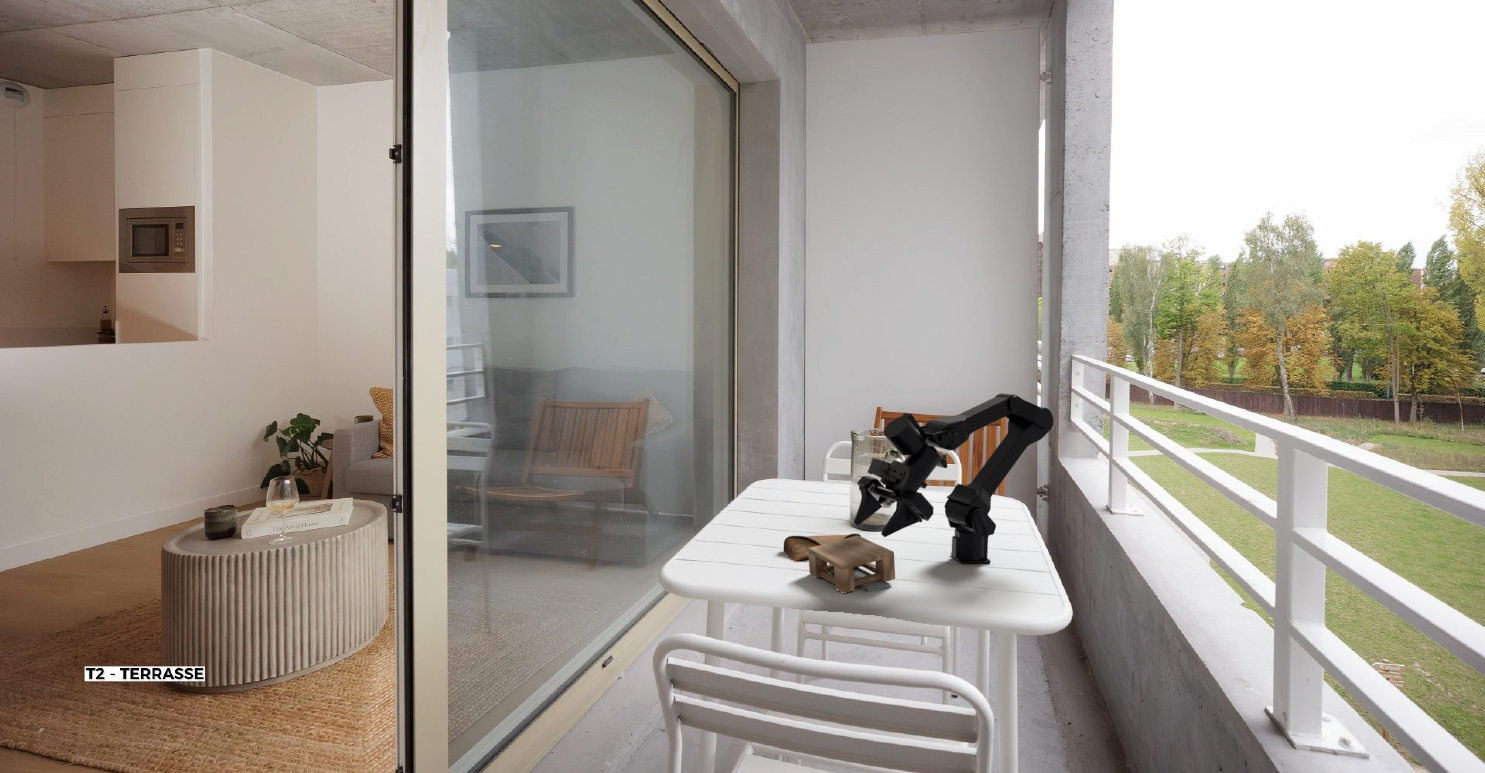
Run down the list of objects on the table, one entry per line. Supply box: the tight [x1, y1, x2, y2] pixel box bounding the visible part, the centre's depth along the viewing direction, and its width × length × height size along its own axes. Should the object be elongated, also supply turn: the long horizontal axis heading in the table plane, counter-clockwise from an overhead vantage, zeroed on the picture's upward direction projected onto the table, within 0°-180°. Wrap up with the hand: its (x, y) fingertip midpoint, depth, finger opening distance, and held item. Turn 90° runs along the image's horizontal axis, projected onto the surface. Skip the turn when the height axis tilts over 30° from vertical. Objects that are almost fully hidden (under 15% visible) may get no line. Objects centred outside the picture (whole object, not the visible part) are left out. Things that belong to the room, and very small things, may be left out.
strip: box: [832, 567, 891, 592], centre depth 153 cm, size 5×14×1 cm, turn 26°
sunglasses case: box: [783, 533, 862, 563], centre depth 169 cm, size 18×7×7 cm, turn 101°
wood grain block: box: [808, 536, 896, 593], centre depth 152 cm, size 6×12×12 cm
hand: (868, 529), depth 153 cm, fingers open, 9 cm apart
